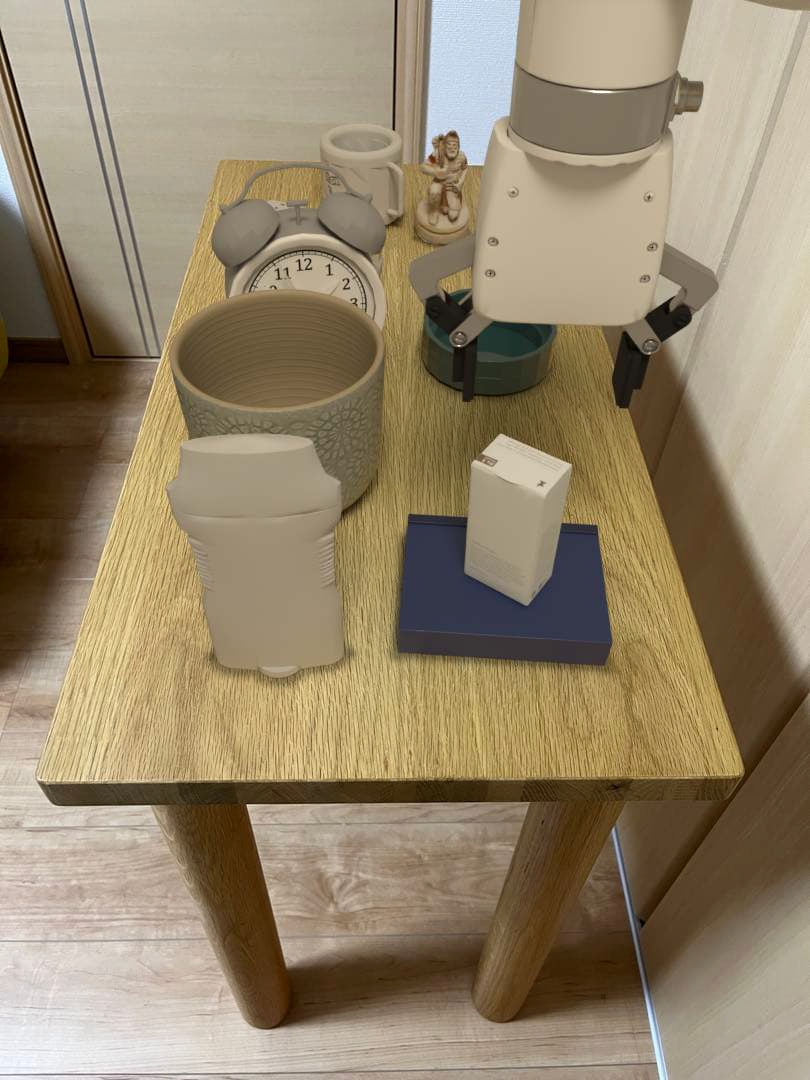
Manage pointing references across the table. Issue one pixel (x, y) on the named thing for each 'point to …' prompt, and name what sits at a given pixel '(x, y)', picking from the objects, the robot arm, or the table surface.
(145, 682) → the table surface
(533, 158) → the robot arm
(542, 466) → the cosmetic box
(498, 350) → the bowl
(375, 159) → the mug
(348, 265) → the alarm clock
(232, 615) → the deodorant stick
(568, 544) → the book
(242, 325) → the planter
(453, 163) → the figurine
